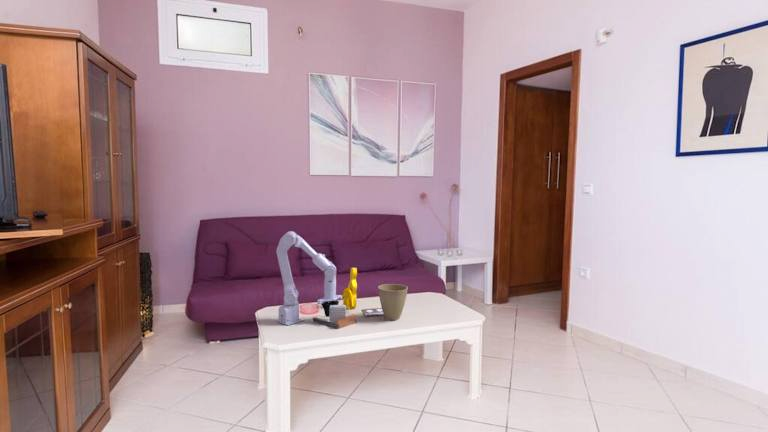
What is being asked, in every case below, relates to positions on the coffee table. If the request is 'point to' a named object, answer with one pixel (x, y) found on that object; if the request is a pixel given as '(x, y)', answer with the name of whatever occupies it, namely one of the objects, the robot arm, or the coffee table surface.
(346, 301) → the figure statuette
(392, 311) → the plant pot
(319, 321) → the grey and brown pieces
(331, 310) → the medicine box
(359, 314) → the coffee table surface
